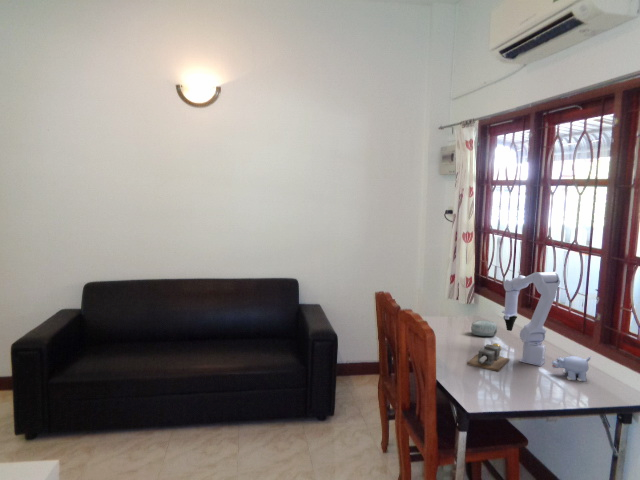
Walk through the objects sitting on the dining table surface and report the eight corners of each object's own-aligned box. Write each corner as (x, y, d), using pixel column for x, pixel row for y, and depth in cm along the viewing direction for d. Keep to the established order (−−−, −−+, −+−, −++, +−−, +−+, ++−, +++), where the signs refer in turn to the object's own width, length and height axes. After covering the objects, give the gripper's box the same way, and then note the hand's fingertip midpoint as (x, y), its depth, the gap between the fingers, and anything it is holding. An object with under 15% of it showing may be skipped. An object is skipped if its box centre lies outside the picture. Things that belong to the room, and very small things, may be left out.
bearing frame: (509, 360, 232) (510, 347, 231) (498, 371, 218) (499, 357, 217) (479, 354, 240) (480, 341, 239) (467, 364, 226) (467, 350, 225)
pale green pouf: (497, 327, 273) (494, 314, 268) (499, 339, 265) (497, 326, 260) (471, 330, 277) (468, 317, 272) (473, 343, 269) (470, 330, 264)
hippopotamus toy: (549, 369, 222) (550, 348, 221) (586, 373, 219) (587, 352, 217) (554, 378, 212) (555, 357, 211) (592, 382, 208) (594, 360, 207)
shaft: (500, 353, 236) (501, 344, 236) (485, 366, 219) (486, 357, 218) (491, 351, 239) (492, 342, 238) (475, 364, 221) (476, 355, 221)
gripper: (506, 299, 254) (505, 325, 255) (498, 305, 242) (497, 332, 244) (521, 301, 250) (519, 328, 251) (513, 307, 238) (511, 335, 240)
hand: (509, 330), depth 247 cm, fingers closed
